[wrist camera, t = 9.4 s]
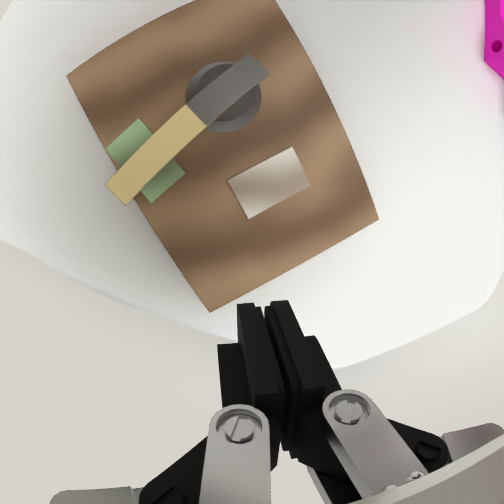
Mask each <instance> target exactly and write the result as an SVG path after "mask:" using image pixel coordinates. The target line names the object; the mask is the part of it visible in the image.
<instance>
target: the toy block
mask: <svg viewBox="0 0 504 504" xmlns="http://www.w3.org/2000/svg"><path fill="white" fill-rule="evenodd" d="M485 4H486V31H485V53H484V62H485V63H487V64H488V65H489V66H490V67H491V68H492V69H493V70H494V71H495V72H496V73H497V74H498V75H500V76H501V77H502V78H503V79H504V0H485Z"/></svg>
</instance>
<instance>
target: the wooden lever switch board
mask: <svg viewBox="0 0 504 504" xmlns="http://www.w3.org/2000/svg"><path fill="white" fill-rule="evenodd" d="M249 53H250V54H251V55H252V56H253V57H254V58H255V59H256V60H257V61H258V62H259V63H260V64H261V65H262V66H263V68H264V69H265V70H266V71H267V72H268V73H269V74H270V75H269V76H268V77H266V78H265V79H264V80H263V81H261V82H260V83H259V84H257V85H256V97H255V100H254V102H253V104H252V106H251V107H250V109H249V110H248V111H247V112H245V113H244V114H242V115H241V116H239V117H237V118H236V119H233V120H230V121H218V120H215V121H213V122H212V123H211V124H210V125H209V126H208V127H207V128H206V129H204V130H203V131H202V132H201V133H200V134H199V135H198V136H197V137H195V138H194V139H193V140H192V141H191V142H190V143H189V144H188V145H187V146H186V147H185V148H184V149H182V150H181V151H180V152H179V153H178V154H177V155H176V156H175V157H174V158H173V159H172V160H171V161H170V162H169V163H168V164H167V165H166V166H165V167H164V168H163V169H162V170H161V171H160V172H159V173H158V174H157V175H156V176H155V177H154V178H153V179H152V180H151V181H150V182H149V183H148V184H147V185H146V186H145V187H144V188H143V189H142V190H141V191H140V192H139V193H138V194H137V195H136V196H135V197H134V199H135V201H136V202H137V204H138V206H139V207H140V209H141V210H142V212H143V214H144V215H145V217H146V218H147V220H148V222H149V223H150V225H151V226H152V228H153V230H154V231H155V233H156V234H157V236H158V237H159V239H160V240H161V242H162V244H163V245H164V247H165V248H166V250H167V251H168V253H169V254H170V256H171V257H172V259H173V260H174V262H175V263H176V265H177V266H178V268H179V269H180V271H181V272H182V274H183V275H184V277H185V278H186V280H187V281H188V283H189V284H190V285H191V287H192V288H193V290H194V291H195V293H196V294H197V296H198V297H199V298H200V300H201V301H202V303H203V304H204V306H205V307H206V308H207V310H208V311H209V313H210V312H212V311H214V310H216V309H218V308H220V307H222V306H224V305H226V304H227V303H229V302H231V301H233V300H235V299H237V298H239V297H241V296H243V295H244V294H246V293H248V292H250V291H252V290H254V289H256V288H258V287H259V286H261V285H263V284H265V283H267V282H269V281H270V280H272V279H274V278H276V277H278V276H280V275H281V274H283V273H285V272H287V271H289V270H291V269H292V268H294V267H296V266H298V265H300V264H301V263H303V262H305V261H307V260H309V259H310V258H312V257H314V256H316V255H318V254H319V253H321V252H323V251H325V250H326V249H328V248H330V247H332V246H334V245H335V244H337V243H339V242H341V241H342V240H344V239H346V238H348V237H349V236H351V235H353V234H355V233H356V232H358V231H360V230H362V229H363V228H365V227H367V226H368V225H370V224H372V223H374V222H375V221H377V220H379V218H378V215H377V212H376V209H375V206H374V203H373V200H372V198H371V195H370V192H369V189H368V187H367V184H366V181H365V179H364V176H363V174H362V171H361V168H360V166H359V163H358V161H357V158H356V156H355V154H354V151H353V149H352V146H351V144H350V142H349V139H348V137H347V135H346V132H345V130H344V128H343V126H342V123H341V121H340V119H339V117H338V115H337V112H336V110H335V108H334V106H333V104H332V102H331V100H330V98H329V96H328V94H327V92H326V90H325V88H324V86H323V84H322V82H321V80H320V78H319V76H318V74H317V72H316V70H315V68H314V66H313V64H312V62H311V61H310V59H309V57H308V55H307V53H306V51H305V50H304V48H303V46H302V44H301V43H300V41H299V39H298V37H297V36H296V34H295V32H294V30H293V29H292V27H291V25H290V24H289V22H288V20H287V19H286V17H285V16H284V14H283V12H282V11H281V9H280V8H279V6H278V4H277V3H276V1H275V0H195V1H193V2H190V3H188V4H186V5H184V6H182V7H179V8H177V9H175V10H173V11H171V12H169V13H167V14H165V15H163V16H161V17H159V18H157V19H155V20H153V21H151V22H149V23H147V24H145V25H144V26H142V27H140V28H138V29H136V30H135V31H133V32H131V33H129V34H128V35H126V36H124V37H123V38H121V39H119V40H118V41H116V42H114V43H113V44H111V45H110V46H108V47H106V48H105V49H103V50H102V51H100V52H99V53H97V54H96V55H94V56H93V57H91V58H90V59H88V60H87V61H86V62H84V63H83V64H81V65H80V66H79V67H77V68H76V69H75V70H73V71H72V72H71V73H69V74H68V75H67V78H68V80H69V82H70V84H71V86H72V88H73V90H74V92H75V94H76V96H77V98H78V100H79V102H80V104H81V106H82V108H83V110H84V111H85V113H86V115H87V117H88V119H89V121H90V123H91V124H92V126H93V128H94V130H95V132H96V134H97V135H98V137H99V139H100V141H101V143H102V144H103V146H104V148H105V150H106V152H107V153H108V155H109V157H110V159H111V160H112V162H113V164H114V165H115V167H116V169H117V171H118V170H119V169H120V168H121V167H122V166H123V165H124V164H125V163H126V162H127V161H128V160H129V158H130V157H131V156H132V155H133V154H134V153H135V152H136V151H137V150H138V149H139V148H140V147H141V146H142V145H143V144H144V143H145V142H146V141H147V140H148V139H149V138H150V137H151V136H152V135H153V134H154V133H155V132H156V131H157V130H158V129H159V128H161V127H162V126H163V125H164V124H165V123H166V122H167V121H168V120H169V119H170V118H171V117H172V116H173V115H174V114H176V113H177V112H178V111H179V110H180V109H181V108H182V107H183V106H184V105H186V103H188V102H189V101H190V100H191V99H192V98H193V97H194V96H196V95H197V86H198V83H199V81H200V79H201V77H202V76H203V74H204V73H205V72H206V71H208V70H209V69H210V68H212V67H214V66H217V65H221V64H233V65H234V64H235V63H237V62H238V61H239V60H241V59H242V58H243V57H245V56H246V55H247V54H249Z"/></svg>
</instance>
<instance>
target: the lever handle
mask: <svg viewBox="0 0 504 504" xmlns="http://www.w3.org/2000/svg"><path fill="white" fill-rule="evenodd" d="M269 75H270V74H269V73H268V72H267V71H266V70H265V69H264V68H263V66H262V65H261V64H260V63H259V62H258V61H257V60H256V59H255V58H254V57H253V56H252V55H251V54H250V53H249V54H247V55H246V56H245V57H243V58H242V59H241V60H239V61H238V62H237V63H235V64H234V65H233V64H221V65H217V66H214V67H212V68H210V69H209V70H208V71H206V72H205V73H204V74H203V76H202V77H201V79H200V81H199V83H198V86H197V95H196V96H194V97H193V98H192V99H191V100H190V101H189V102H188V103H186V105H184V106H183V107H182V108H181V109H180V110H179V111H178V112H177V113H176V114H174V115H173V116H172V117H171V118H170V119H169V120H168V121H167V122H166V123H165V124H164V125H163V126H162V127H161V128H159V129H158V130H157V131H156V132H155V133H154V134H153V135H152V136H151V137H150V138H149V139H148V140H147V141H146V142H145V143H144V144H143V145H142V146H141V147H140V148H139V149H138V150H137V151H136V152H135V153H134V154H133V155H132V156H131V157H130V158H129V160H128V161H127V162H126V163H125V164H124V165H123V166H122V167H121V168H120V169H119V170H118V171H117V172H116V173H115V175H114V176H113V177H112V178H111V179H110V180H109V181H108V182H107V183H106V186H107V187H108V188H109V190H110V191H111V192H112V193H113V194H114V195H115V196H116V197H117V198H118V199H119V200H120V201H121V202H122V203H123V204H124V205H126V204H128V203H129V202H130V201H131V200H132V199H133V198H134V197H135V196H136V195H137V194H138V193H139V192H140V191H141V190H142V189H143V188H144V187H145V186H146V185H147V184H148V183H149V182H150V181H151V180H152V179H153V178H154V177H155V176H156V175H157V174H158V173H159V172H160V171H161V170H162V169H163V168H164V167H165V166H166V165H167V164H168V163H169V162H170V161H171V160H172V159H173V158H174V157H175V156H176V155H177V154H178V153H179V152H180V151H181V150H182V149H184V148H185V147H186V146H187V145H188V144H189V143H190V142H191V141H192V140H193V139H194V138H195V137H197V136H198V135H199V134H200V133H201V132H202V131H203V130H204V129H206V128H207V127H208V126H209V125H210V124H211V123H212V122H213V121H215V120H218V121H230V120H233V119H236V118H237V117H239V116H241V115H242V114H244V113H245V112H247V111H248V110H249V109H250V107H251V106H252V104H253V102H254V100H255V97H256V85H257V84H259V83H260V82H261V81H263V80H264V79H265V78H266V77H268V76H269Z"/></svg>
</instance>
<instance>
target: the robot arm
mask: <svg viewBox="0 0 504 504" xmlns="http://www.w3.org/2000/svg"><path fill="white" fill-rule="evenodd" d="M237 329H238V343H232V344H218V345H217V348H218V361H219V373H220V385H221V396H222V407H223V408H222V409H221V410H219V411H217V412H216V413H215V415H214V416H213V417H212V419H211V421H210V424H209V431H208V436H207V437H206V438H204V439H203V440H202V441H201V442H200V443H198V444H197V445H196V446H195V447H194V448H192V449H191V450H190V451H189V452H188V453H186V454H185V455H184V456H183V457H181V458H180V459H179V460H178V461H176V462H175V463H174V464H173V465H171V466H170V467H169V468H167V469H166V470H165V471H164V472H162V473H161V474H160V475H158V476H157V477H156V478H154V479H153V480H152V481H150V482H149V483H148V484H147V485H146V486H145V487H142V488H135V489H131V487H129V486H128V487H120V488H107V489H94V490H67V491H61V492H59V493H57V494H56V495H54V497H53V498H52V499H51V501H50V504H271V476H270V472H271V471H272V470H273V469H274V468H275V467H276V465H277V460H278V453H279V445H280V441H281V445H282V449H283V451H288V450H289V452H290V456H291V459H294V458H298V462H301V463H303V464H305V465H307V469H308V472H309V474H310V476H311V478H312V480H313V482H314V484H315V486H316V488H317V490H318V492H319V494H320V495H321V497H322V499H323V501H324V503H325V504H504V430H503V428H502V427H500V426H499V425H496V424H494V423H487V424H484V425H479V426H475V427H471V428H467V429H463V430H459V431H454V432H448V433H444V434H443V435H442V436H441V437H438V436H436V435H434V434H432V433H428V432H425V431H422V430H419V429H416V428H413V427H410V426H407V425H404V424H401V423H398V422H396V421H393V420H390V419H387V418H386V417H385V416H384V415H383V414H382V412H381V411H380V410H379V408H378V407H377V406H376V404H375V403H374V402H373V401H372V399H371V398H369V397H368V396H367V395H366V394H364V393H362V392H360V391H356V390H350V389H348V390H347V389H344V390H342V389H341V387H340V385H339V383H338V381H337V379H336V377H335V374H334V372H333V370H332V368H331V366H330V364H329V362H328V360H327V358H326V356H325V354H324V352H323V350H322V348H321V346H320V344H319V342H318V340H317V338H316V337H315V336H314V335H313V336H305V337H304V335H303V333H302V330H301V328H300V326H299V324H298V321H297V319H296V317H295V315H294V312H293V310H292V308H291V306H290V304H289V302H288V300H283V301H271V303H270V306H265V311H264V316H263V313H262V310H261V307H255V305H254V303H243V304H237Z"/></svg>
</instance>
